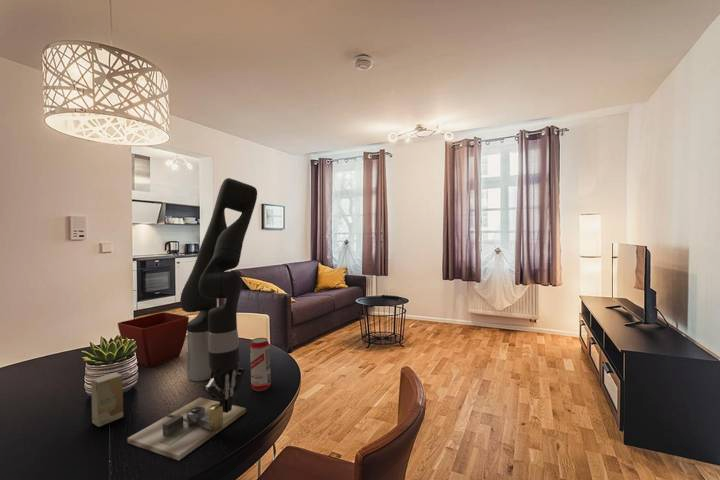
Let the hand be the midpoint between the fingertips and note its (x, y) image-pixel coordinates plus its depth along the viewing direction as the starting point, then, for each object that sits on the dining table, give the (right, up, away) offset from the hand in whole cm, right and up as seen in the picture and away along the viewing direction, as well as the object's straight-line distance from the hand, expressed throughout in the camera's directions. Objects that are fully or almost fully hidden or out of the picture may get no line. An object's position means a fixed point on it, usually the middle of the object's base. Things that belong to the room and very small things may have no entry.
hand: (226, 410), depth 91 cm
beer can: (+3, -4, +23) cm, 23 cm away
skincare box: (-35, -5, +5) cm, 36 cm away
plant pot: (-49, -4, +50) cm, 70 cm away
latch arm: (-5, -3, -2) cm, 6 cm away
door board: (-10, -5, +1) cm, 11 cm away
